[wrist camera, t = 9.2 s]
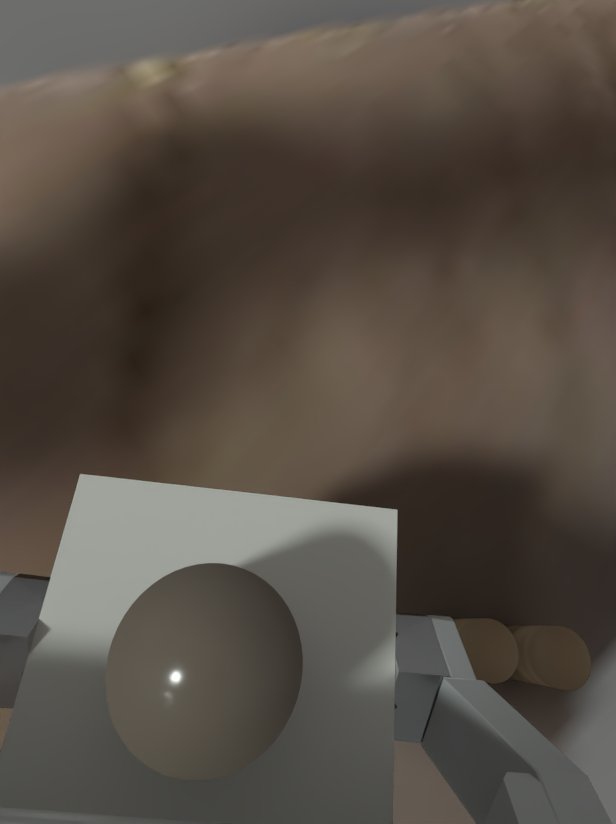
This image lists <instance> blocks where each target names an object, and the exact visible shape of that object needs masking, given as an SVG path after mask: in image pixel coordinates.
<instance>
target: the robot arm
mask: <svg viewBox="0 0 616 824" xmlns="http://www.w3.org/2000/svg"><path fill="white" fill-rule="evenodd" d="M50 578H51V577H45V576H37V575H29V574H21V573H20V574H16V573H8V572H1V571H0V708H13V707H14V704H15V700H16V697H17V693H18V690H19V686H20V683H21V679H22V676H23V672H24V669H25V665H26V662H27V658H28V655H29V653H30V649H31V646H32V642H33V638H34V635H35V631H36V628H37V624H38V621H39V616H40V613H41V609H42V606H43V602H44V599H45V595H46V592H47V588H48V585H49V581H50ZM394 740H397V741H405V742H414V743H422V745H421V746H422V747H423V749H424V750H425V752H426V753H427V754H428V756H429V757H430V759H431V760H432V761H433V763H434V764H435V766H436V767H437V769H438V770H439V771H440V773H441V774H442V776H443V777H444V778H445V780H446V781H447V783H448V784H449V786H450V787H451V788H452V790H453V791H454V793H455V794H456V795H457V797H458V798H459V800H460V801H461V803H462V804H463V805H464V807H465V808H466V810H467V811H468V812H469V814H470V815H471V817H472V818H473V820H474V821H475V822H476V824H612V823H611V821H610V819H609V817H608V815H607V813H606V811H605V809H604V807H603V805H602V803H601V801H600V799H599V797H598V795H597V794H596V792H595V790H594V788H593V786H592V784H591V782H590V780H589V778H588V776H586V775H585V774H584V773H583V772H582V771H581V770H580V769H579V768H578V767H577V766H576V765H575V764H574V763H572V762H571V761H570V760H569V759H568V758H567V757H566V756H565V755H564V754H563V753H562V752H561V751H559V750H558V749H557V748H556V747H555V746H554V745H553V744H552V743H551V742H550V741H549V740H548V739H546V738H545V737H544V736H543V735H542V734H541V733H540V732H539V731H538V730H537V729H536V728H535V727H533V726H532V725H531V724H530V723H529V722H528V721H527V720H526V719H525V718H524V717H523V716H522V715H520V714H519V713H518V712H517V711H516V710H515V709H514V708H513V707H512V706H511V705H510V704H509V703H507V702H506V701H505V700H504V699H503V698H502V697H501V696H500V695H499V694H498V693H497V692H496V691H494V690H493V689H492V688H491V687H490V686H489V685H488V684H487V683H486V682H485V681H482V680H477V679H476V676H475V674H474V671H473V669H472V666H471V663H470V661H469V658H468V656H467V653H466V651H465V648H464V646H463V643H462V641H461V638H460V636H459V633H458V630H457V628H456V625H455V623H454V620H453V619H452V618H451V617H447V616H435V615H427V616H426V615H420V614H409V613H398V612H396V640H395V706H394ZM0 824H229V823H215V822H201V821H187V820H173V819H159V818H145V817H131V816H117V815H103V814H89V813H75V812H61V811H47V810H33V809H19V808H5V807H0Z"/></svg>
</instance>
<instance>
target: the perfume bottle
mask: <svg viewBox="0 0 616 824" xmlns="http://www.w3.org/2000/svg"><path fill="white" fill-rule="evenodd" d="M396 574H397V510H396V509H387V508H378V507H370V506H361V505H352V504H343V503H334V502H325V501H316V500H308V499H299V498H290V497H281V496H272V495H263V494H254V493H246V492H237V491H228V490H219V489H210V488H201V487H192V486H184V485H175V484H166V483H157V482H148V481H139V480H130V479H121V478H113V477H104V476H95V475H86V474H80V476H79V480H78V483H77V487H76V490H75V494H74V497H73V501H72V504H71V508H70V511H69V515H68V518H67V522H66V525H65V529H64V532H63V536H62V539H61V543H60V546H59V550H58V553H57V557H56V560H55V564H54V567H53V571H52V574H51V578H50V581H49V585H48V588H47V592H46V595H45V599H44V602H43V606H42V609H41V613H40V616H39V621H38V624H37V628H36V631H35V635H34V638H33V642H32V646H31V649H30V653H29V655H28V658H27V662H26V665H25V669H24V672H23V676H22V679H21V683H20V686H19V690H18V693H17V697H16V700H15V704H14V707H13V711H12V714H11V718H10V721H9V725H8V728H7V732H6V735H5V739H4V742H3V746H2V749H1V753H0V807H5V808H19V809H33V810H47V811H61V812H75V813H89V814H103V815H117V816H131V817H145V818H159V819H173V820H187V821H201V822H215V823H229V824H393V771H394V706H395V640H396Z"/></svg>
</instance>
